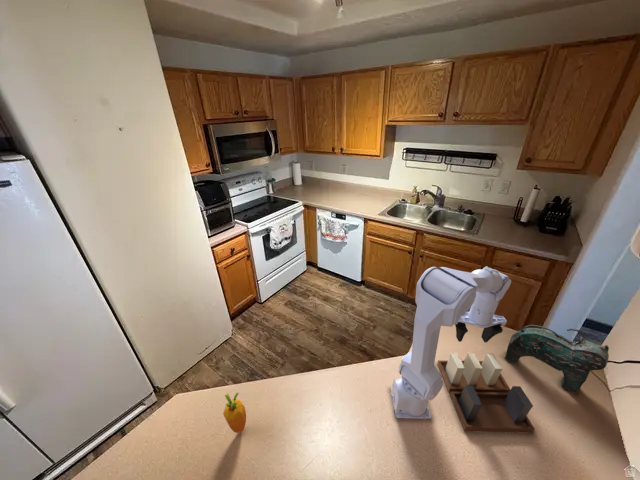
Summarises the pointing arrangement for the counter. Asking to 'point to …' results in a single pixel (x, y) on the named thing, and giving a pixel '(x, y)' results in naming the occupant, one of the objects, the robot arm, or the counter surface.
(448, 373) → the cream book
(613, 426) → the counter surface
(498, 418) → the dark wooden tray
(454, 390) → the shallow brown tray
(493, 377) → the cream book
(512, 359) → the green mottled arch
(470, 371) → the cream book
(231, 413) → the carrot
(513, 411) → the charcoal book
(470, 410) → the charcoal book
